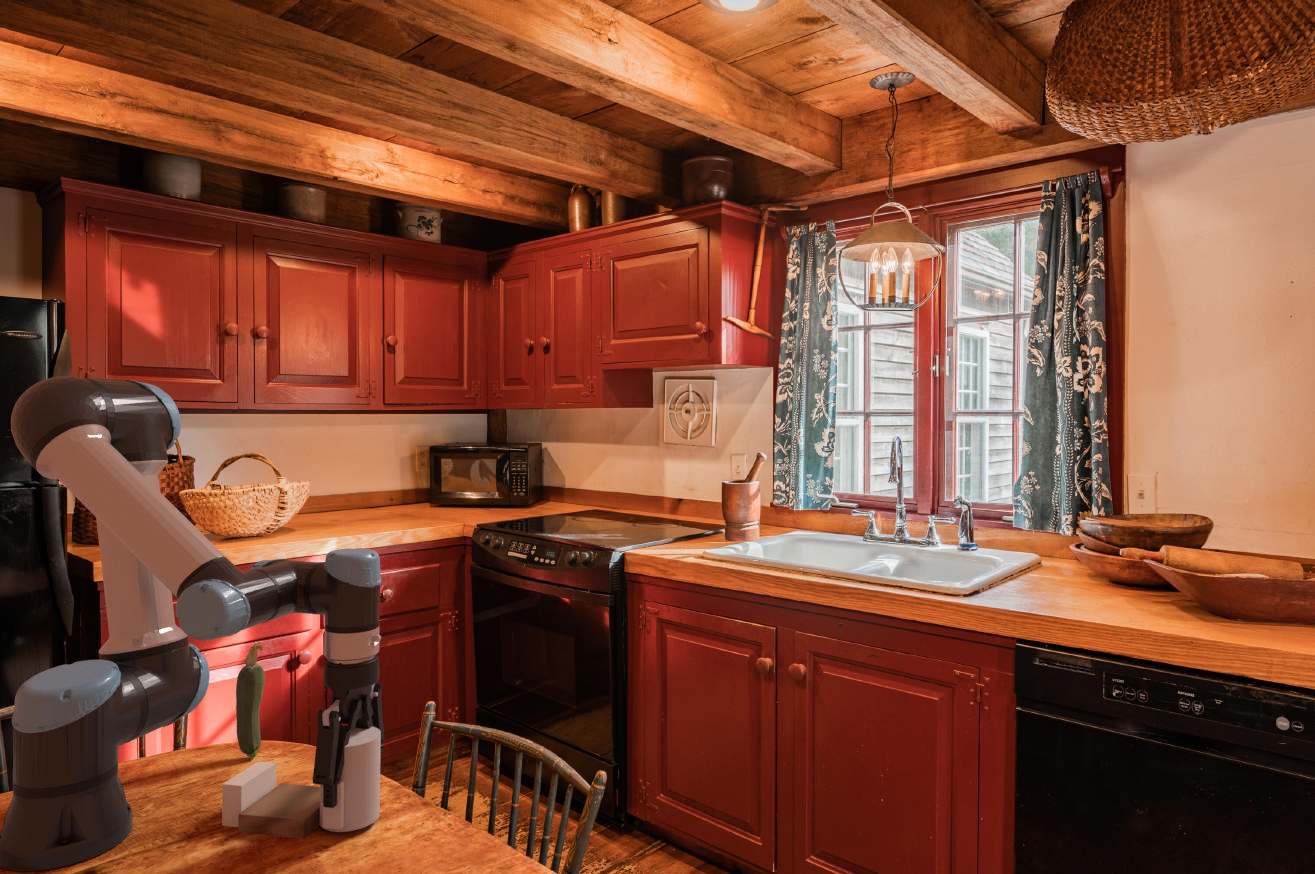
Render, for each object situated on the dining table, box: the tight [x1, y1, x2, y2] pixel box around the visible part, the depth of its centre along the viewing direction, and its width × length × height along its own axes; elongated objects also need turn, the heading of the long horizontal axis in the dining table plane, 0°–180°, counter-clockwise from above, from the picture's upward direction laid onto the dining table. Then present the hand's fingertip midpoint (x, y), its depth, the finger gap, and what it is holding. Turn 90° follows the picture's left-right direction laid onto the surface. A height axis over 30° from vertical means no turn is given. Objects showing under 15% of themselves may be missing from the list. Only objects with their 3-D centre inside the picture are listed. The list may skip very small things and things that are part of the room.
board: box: [237, 783, 320, 840], centre depth 117 cm, size 10×10×3 cm
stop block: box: [221, 761, 277, 828], centre depth 118 cm, size 3×8×6 cm, turn 171°
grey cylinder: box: [319, 727, 382, 833], centre depth 116 cm, size 8×8×12 cm
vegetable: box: [235, 641, 266, 761], centre depth 138 cm, size 4×4×20 cm
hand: (350, 811), depth 116 cm, fingers closed on grey cylinder, 8 cm apart
